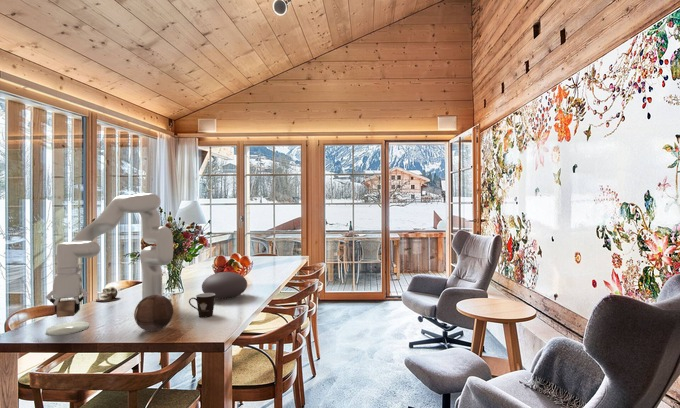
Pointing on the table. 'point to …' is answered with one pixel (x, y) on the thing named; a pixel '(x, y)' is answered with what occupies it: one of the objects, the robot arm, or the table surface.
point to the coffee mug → (204, 304)
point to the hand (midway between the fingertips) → (67, 312)
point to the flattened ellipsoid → (225, 285)
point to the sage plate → (67, 328)
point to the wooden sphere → (153, 312)
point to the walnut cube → (66, 308)
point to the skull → (108, 294)
